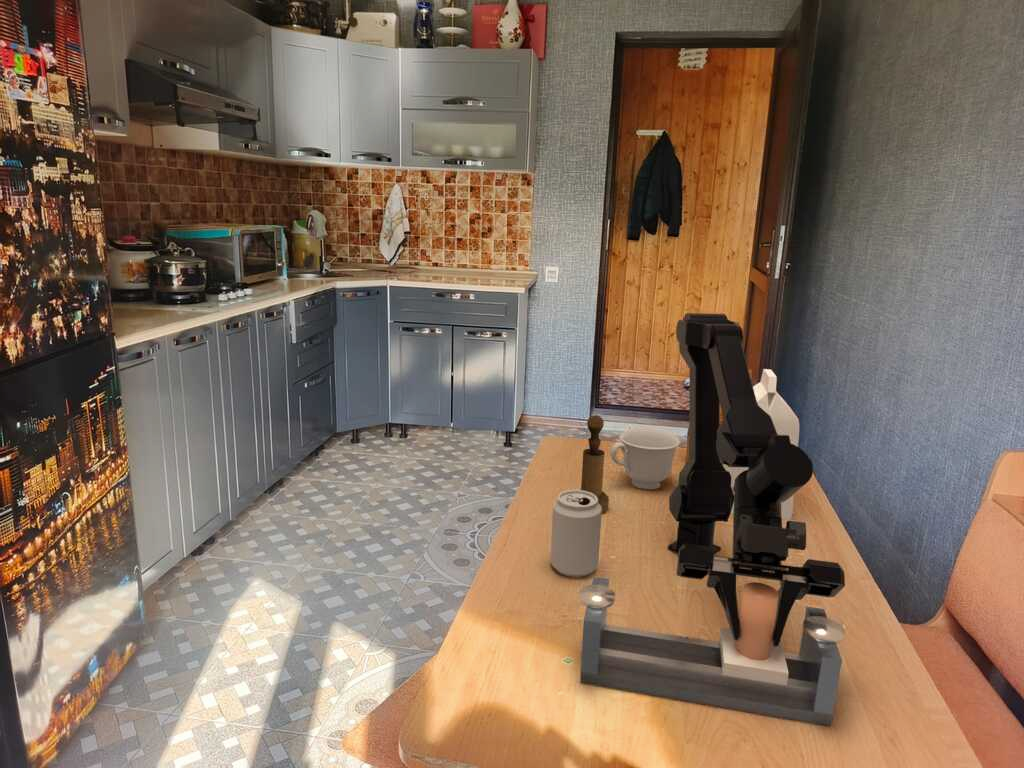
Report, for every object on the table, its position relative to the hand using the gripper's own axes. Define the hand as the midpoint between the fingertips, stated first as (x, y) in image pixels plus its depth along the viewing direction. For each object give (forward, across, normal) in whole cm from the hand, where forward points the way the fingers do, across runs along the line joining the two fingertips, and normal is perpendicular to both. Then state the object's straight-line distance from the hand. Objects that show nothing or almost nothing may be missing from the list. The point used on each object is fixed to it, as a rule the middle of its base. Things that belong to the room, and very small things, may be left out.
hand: (756, 643), depth 81 cm
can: (-12, -24, +21) cm, 34 cm away
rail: (+4, -6, +6) cm, 9 cm away
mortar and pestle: (-27, -24, +37) cm, 52 cm away
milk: (-35, +6, +44) cm, 57 cm away
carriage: (+1, 0, +3) cm, 4 cm away
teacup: (-37, -16, +47) cm, 62 cm away
